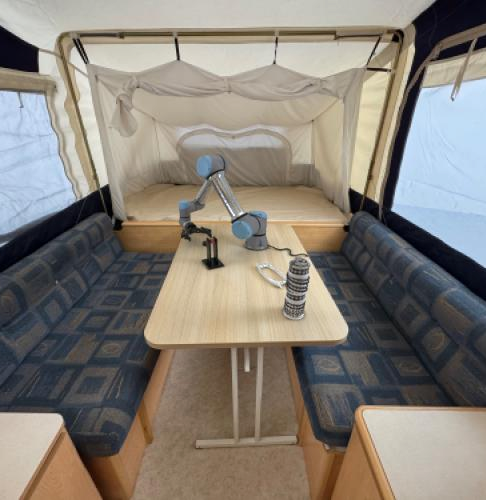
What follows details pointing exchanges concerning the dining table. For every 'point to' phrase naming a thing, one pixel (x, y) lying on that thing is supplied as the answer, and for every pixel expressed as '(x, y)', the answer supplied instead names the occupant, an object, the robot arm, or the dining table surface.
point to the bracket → (213, 261)
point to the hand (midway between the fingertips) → (200, 238)
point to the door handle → (269, 277)
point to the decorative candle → (296, 288)
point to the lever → (205, 242)
